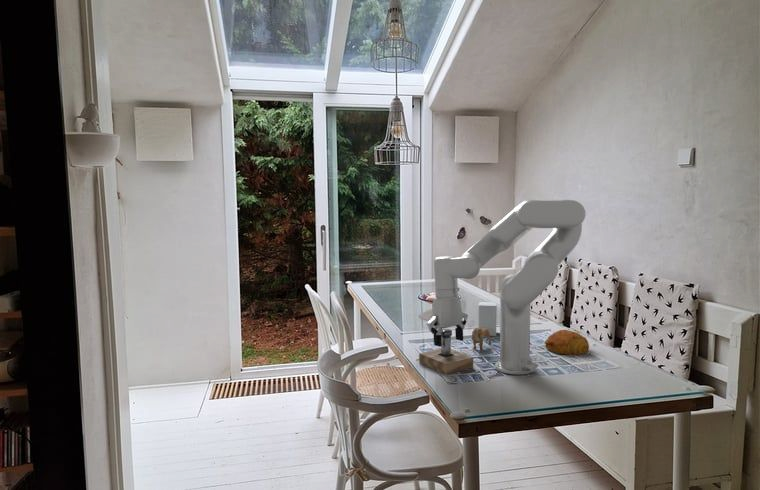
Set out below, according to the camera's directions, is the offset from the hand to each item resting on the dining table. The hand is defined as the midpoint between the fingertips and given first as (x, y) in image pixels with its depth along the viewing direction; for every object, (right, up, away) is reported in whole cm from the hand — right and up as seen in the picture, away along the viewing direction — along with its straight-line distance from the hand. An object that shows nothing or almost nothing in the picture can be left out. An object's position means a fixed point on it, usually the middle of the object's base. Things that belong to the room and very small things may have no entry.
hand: (448, 342), depth 174 cm
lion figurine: (+15, -6, +20) cm, 26 cm away
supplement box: (+21, -4, +40) cm, 45 cm away
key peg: (-1, -8, +1) cm, 8 cm away
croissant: (+46, -6, +17) cm, 49 cm away
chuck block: (-1, -8, +1) cm, 8 cm away
